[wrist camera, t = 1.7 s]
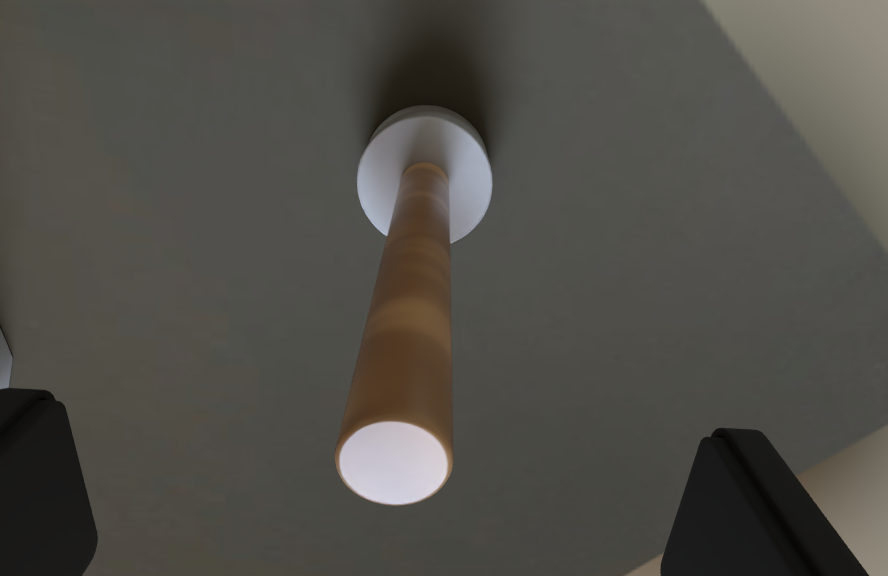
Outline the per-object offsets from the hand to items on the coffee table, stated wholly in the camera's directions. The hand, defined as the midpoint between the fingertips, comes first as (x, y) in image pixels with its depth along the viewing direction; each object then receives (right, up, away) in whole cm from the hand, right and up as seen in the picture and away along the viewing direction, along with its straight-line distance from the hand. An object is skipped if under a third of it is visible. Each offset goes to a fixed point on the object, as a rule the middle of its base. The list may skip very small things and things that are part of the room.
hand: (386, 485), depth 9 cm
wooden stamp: (0, +8, +15) cm, 17 cm away
